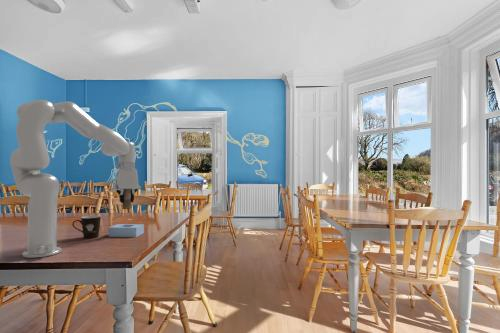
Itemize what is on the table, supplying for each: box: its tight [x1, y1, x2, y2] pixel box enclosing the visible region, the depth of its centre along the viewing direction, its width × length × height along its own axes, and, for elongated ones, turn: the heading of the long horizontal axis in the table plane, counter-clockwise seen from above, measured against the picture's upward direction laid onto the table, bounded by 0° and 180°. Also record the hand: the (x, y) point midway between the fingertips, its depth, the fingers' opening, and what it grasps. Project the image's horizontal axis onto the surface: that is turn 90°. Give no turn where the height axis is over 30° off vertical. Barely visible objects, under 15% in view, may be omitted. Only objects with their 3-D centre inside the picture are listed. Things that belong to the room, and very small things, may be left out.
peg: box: [122, 189, 132, 210], centre depth 153 cm, size 4×4×10 cm
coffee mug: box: [72, 215, 102, 240], centre depth 148 cm, size 12×9×10 cm
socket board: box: [108, 223, 145, 238], centre depth 153 cm, size 14×9×4 cm, turn 86°
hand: (126, 202), depth 153 cm, fingers closed on peg, 4 cm apart
